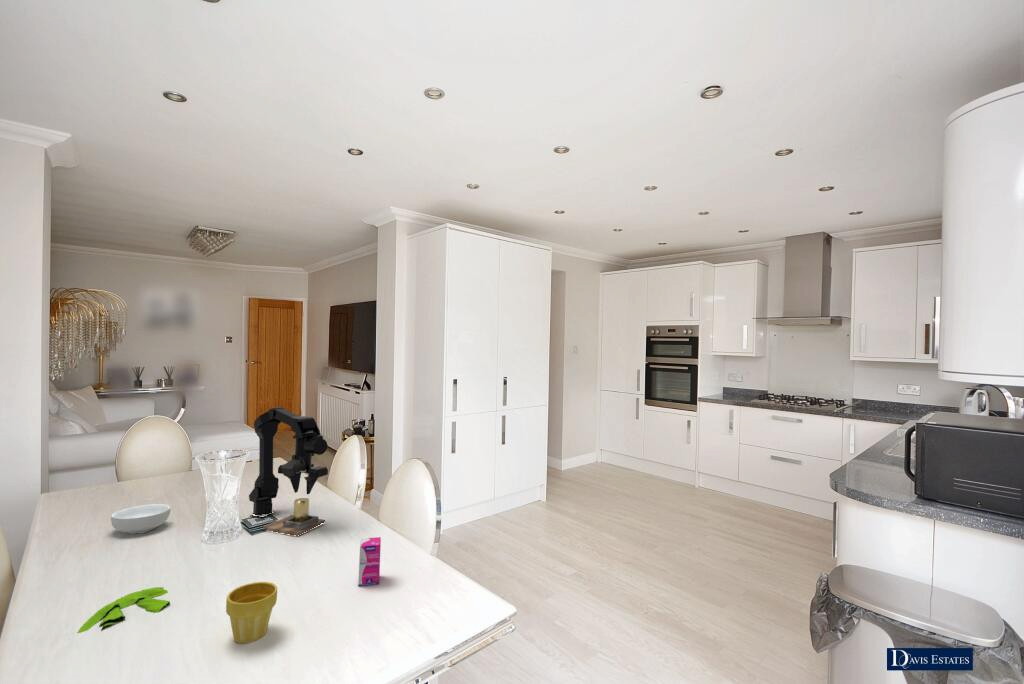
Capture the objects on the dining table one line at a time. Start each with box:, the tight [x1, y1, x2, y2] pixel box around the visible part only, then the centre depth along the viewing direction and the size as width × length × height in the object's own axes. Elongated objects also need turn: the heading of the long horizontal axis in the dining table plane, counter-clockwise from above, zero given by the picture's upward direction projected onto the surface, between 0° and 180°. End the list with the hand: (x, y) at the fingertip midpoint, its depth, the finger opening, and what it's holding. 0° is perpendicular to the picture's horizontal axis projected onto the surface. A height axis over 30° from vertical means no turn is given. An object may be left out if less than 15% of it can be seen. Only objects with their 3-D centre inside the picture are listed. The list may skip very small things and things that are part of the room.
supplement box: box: [357, 536, 382, 587], centre depth 133 cm, size 6×6×12 cm
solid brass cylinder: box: [293, 497, 310, 523], centre depth 172 cm, size 5×5×9 cm
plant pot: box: [225, 581, 278, 644], centre depth 106 cm, size 10×10×10 cm
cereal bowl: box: [110, 503, 171, 535], centre depth 167 cm, size 17×17×7 cm
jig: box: [262, 514, 326, 536], centre depth 172 cm, size 16×14×4 cm
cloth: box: [76, 586, 171, 634], centre depth 115 cm, size 20×22×2 cm
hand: (302, 493), depth 172 cm, fingers open, 5 cm apart
